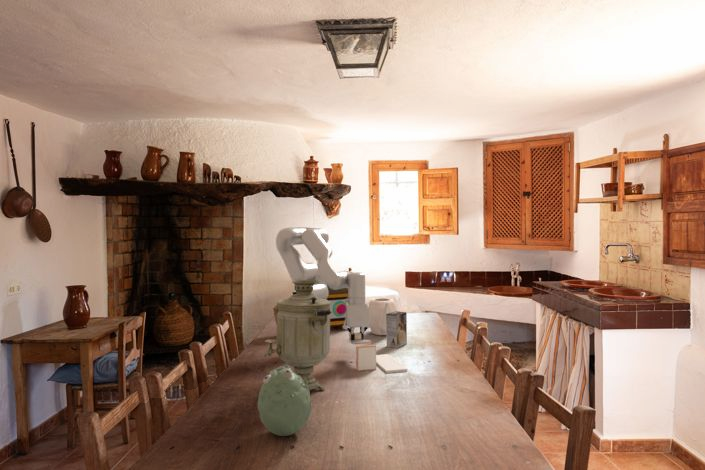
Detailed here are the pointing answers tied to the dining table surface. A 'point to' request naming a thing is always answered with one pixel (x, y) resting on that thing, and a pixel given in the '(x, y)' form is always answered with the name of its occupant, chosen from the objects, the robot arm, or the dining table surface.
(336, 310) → the decorative lantern
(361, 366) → the tile
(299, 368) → the samovar
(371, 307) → the white faceted vase
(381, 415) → the dining table surface
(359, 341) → the turner
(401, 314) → the coffee box
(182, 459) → the dining table surface
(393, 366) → the board
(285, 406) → the pale green egg shape
